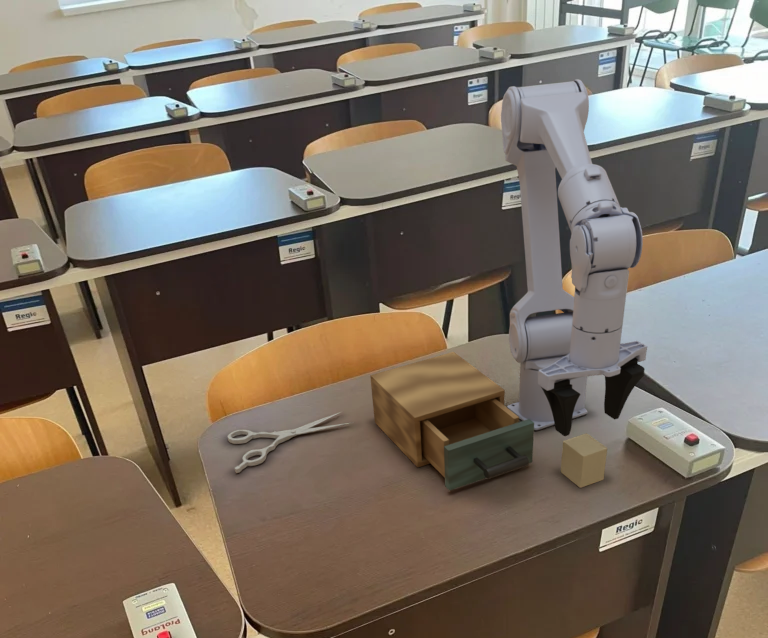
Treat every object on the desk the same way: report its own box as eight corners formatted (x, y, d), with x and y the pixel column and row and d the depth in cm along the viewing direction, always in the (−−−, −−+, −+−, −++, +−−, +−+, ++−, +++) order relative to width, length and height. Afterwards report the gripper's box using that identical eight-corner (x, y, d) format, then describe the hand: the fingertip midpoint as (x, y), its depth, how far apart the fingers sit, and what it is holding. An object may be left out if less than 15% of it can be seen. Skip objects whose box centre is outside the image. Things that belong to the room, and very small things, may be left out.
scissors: (216, 436, 115) (336, 400, 121) (217, 440, 116) (337, 404, 122) (235, 469, 107) (363, 429, 113) (236, 474, 108) (363, 433, 114)
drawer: (550, 477, 100) (553, 437, 96) (465, 507, 96) (464, 466, 93) (481, 419, 113) (481, 381, 109) (404, 443, 109) (401, 405, 106)
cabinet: (503, 439, 110) (504, 390, 105) (417, 467, 106) (414, 417, 101) (454, 398, 121) (453, 351, 116) (374, 422, 117) (370, 375, 112)
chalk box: (583, 463, 104) (586, 432, 101) (603, 479, 100) (607, 448, 97) (560, 472, 102) (562, 440, 99) (580, 488, 99) (583, 456, 96)
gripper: (566, 351, 83) (558, 454, 91) (670, 320, 87) (654, 421, 96) (529, 329, 88) (525, 429, 97) (630, 300, 93) (617, 398, 101)
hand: (587, 423), depth 96 cm, fingers open, 7 cm apart
